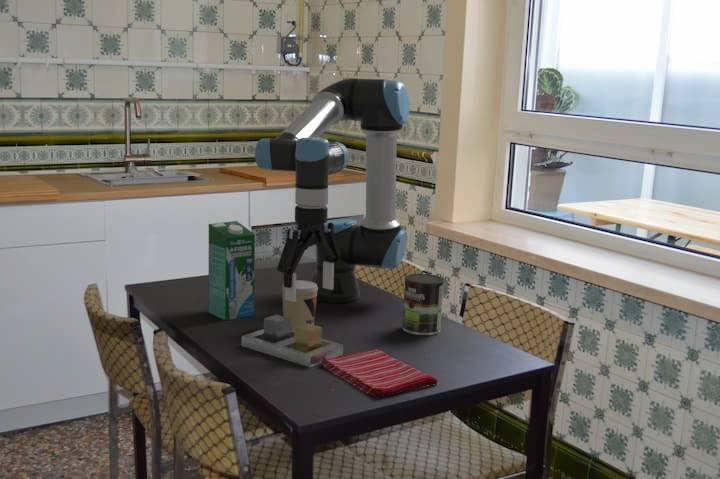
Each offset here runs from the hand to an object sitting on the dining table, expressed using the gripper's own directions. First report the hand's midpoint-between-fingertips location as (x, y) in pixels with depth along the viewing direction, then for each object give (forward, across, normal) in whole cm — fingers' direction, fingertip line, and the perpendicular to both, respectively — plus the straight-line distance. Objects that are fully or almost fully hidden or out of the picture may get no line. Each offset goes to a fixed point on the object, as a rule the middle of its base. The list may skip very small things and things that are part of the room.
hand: (309, 294), depth 198 cm
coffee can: (+16, -35, +9) cm, 40 cm away
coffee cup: (+15, -13, -15) cm, 25 cm away
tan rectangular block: (+15, +1, 0) cm, 15 cm away
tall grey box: (+15, +1, -10) cm, 18 cm away
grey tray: (+15, +1, -5) cm, 16 cm away
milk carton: (+16, -10, -37) cm, 41 cm away
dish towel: (+16, 0, +20) cm, 25 cm away
